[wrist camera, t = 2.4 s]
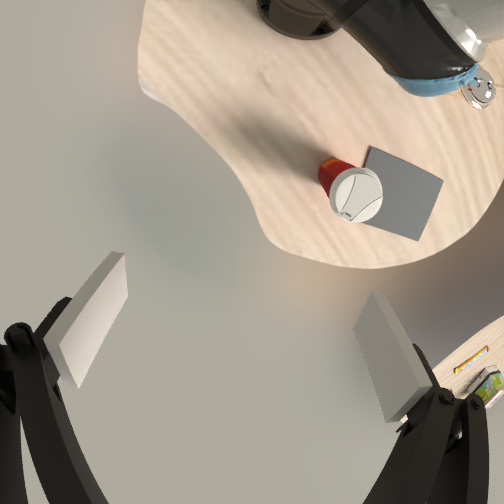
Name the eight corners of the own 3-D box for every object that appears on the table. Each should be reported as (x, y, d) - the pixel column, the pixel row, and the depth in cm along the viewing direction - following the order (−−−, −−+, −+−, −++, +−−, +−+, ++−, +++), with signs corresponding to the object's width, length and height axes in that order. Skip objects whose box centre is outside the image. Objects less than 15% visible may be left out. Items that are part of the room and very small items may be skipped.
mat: (345, 217, 50) (346, 218, 49) (370, 146, 43) (371, 146, 43) (417, 240, 52) (418, 241, 51) (442, 180, 45) (443, 180, 45)
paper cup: (337, 202, 49) (362, 236, 36) (303, 179, 47) (319, 205, 34) (362, 169, 45) (397, 191, 33) (329, 143, 44) (356, 156, 31)
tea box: (485, 367, 78) (498, 391, 65) (496, 364, 78) (509, 387, 65) (466, 389, 85) (477, 413, 72) (478, 386, 85) (489, 408, 72)
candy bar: (487, 342, 70) (490, 346, 69) (487, 347, 72) (489, 351, 70) (453, 367, 75) (455, 371, 74) (454, 372, 77) (455, 375, 75)
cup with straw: (445, 58, 33) (516, 53, 15) (465, 97, 36) (537, 108, 19) (419, 73, 36) (492, 69, 18) (442, 114, 39) (515, 129, 21)
